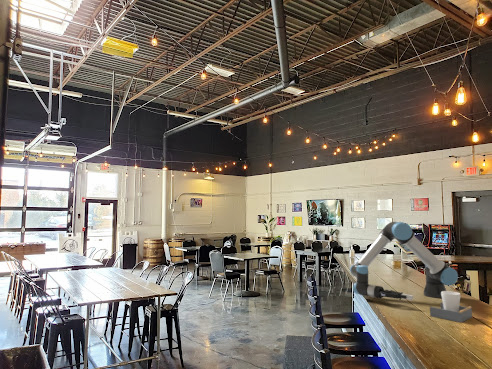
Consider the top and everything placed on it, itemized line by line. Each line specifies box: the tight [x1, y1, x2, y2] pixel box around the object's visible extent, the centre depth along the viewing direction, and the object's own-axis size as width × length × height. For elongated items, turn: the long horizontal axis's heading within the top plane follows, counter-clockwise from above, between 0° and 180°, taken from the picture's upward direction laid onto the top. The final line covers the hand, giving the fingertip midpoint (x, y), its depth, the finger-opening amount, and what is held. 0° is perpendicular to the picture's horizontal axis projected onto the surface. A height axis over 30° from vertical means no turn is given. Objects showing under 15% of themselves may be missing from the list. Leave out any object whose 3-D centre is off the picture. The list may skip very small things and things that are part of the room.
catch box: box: [429, 302, 473, 323], centre depth 203 cm, size 16×16×6 cm
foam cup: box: [441, 290, 461, 312], centre depth 204 cm, size 10×9×13 cm
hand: (412, 297), depth 219 cm, fingers closed
